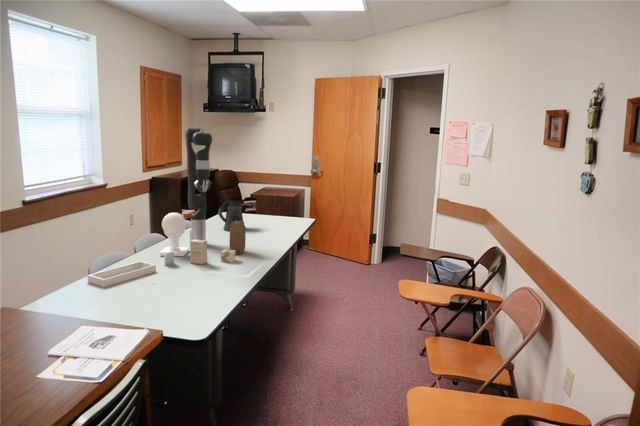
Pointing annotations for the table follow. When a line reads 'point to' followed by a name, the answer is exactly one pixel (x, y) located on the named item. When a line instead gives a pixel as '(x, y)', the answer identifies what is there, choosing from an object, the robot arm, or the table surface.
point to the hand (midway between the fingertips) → (203, 198)
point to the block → (237, 237)
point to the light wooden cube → (227, 255)
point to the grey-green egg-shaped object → (169, 258)
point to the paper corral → (99, 276)
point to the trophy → (174, 233)
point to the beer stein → (231, 213)
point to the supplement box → (198, 251)
